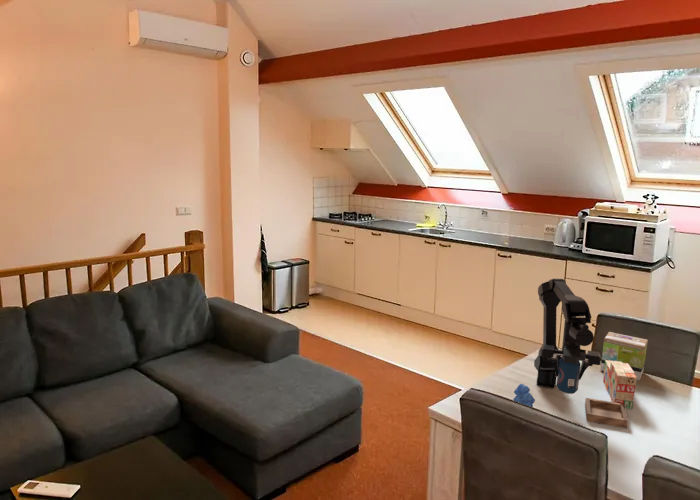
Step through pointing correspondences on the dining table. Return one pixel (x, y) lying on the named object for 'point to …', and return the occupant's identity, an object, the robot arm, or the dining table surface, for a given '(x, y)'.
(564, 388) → the soda can
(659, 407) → the dining table surface
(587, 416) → the brown open box
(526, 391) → the grapes
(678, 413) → the dining table surface
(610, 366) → the stack of blocks
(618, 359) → the tea box
